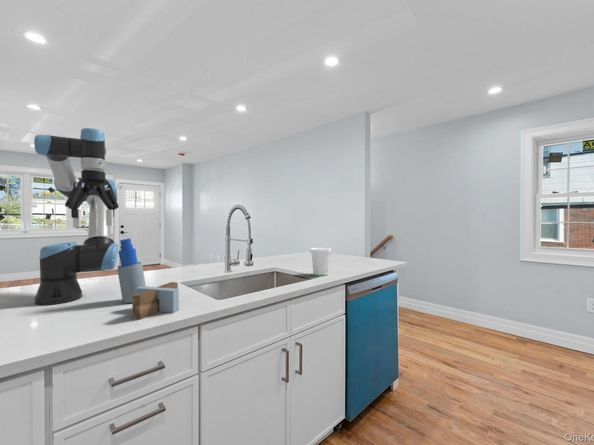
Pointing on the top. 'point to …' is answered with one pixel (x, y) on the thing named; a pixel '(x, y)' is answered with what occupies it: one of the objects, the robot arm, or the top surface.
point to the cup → (320, 260)
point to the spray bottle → (129, 271)
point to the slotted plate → (164, 298)
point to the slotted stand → (148, 301)
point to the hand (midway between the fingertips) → (94, 226)
